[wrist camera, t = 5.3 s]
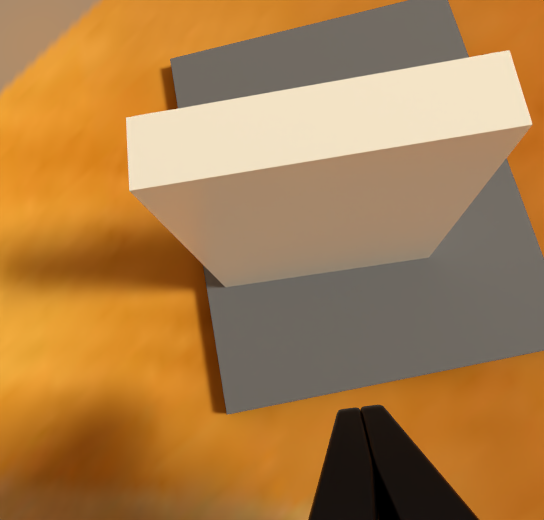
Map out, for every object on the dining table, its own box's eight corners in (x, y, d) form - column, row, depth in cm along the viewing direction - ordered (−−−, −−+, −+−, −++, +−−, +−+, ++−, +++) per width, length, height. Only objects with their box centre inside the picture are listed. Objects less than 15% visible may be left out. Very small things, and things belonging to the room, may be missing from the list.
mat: (567, 345, 16) (575, 343, 16) (230, 413, 17) (226, 414, 16) (441, 2, 21) (444, -9, 20) (174, 67, 21) (170, 58, 21)
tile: (428, 257, 17) (532, 124, 9) (225, 287, 18) (129, 190, 9) (418, 213, 18) (507, 45, 9) (221, 244, 18) (125, 113, 10)
